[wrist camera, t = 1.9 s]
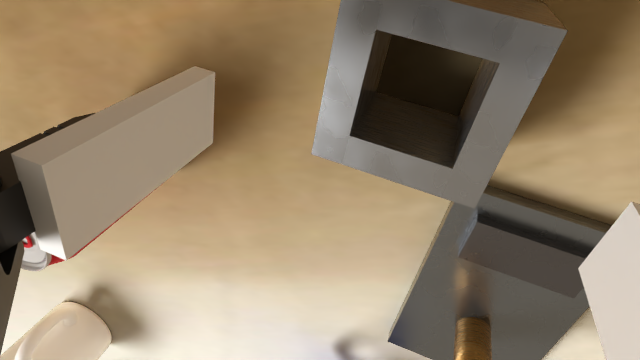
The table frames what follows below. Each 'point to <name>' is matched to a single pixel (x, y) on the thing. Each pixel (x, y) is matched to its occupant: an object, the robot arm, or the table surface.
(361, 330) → the table surface
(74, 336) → the mug
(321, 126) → the hollow square tube
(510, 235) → the keeper
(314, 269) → the table surface
